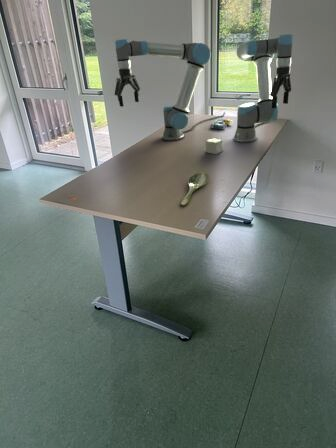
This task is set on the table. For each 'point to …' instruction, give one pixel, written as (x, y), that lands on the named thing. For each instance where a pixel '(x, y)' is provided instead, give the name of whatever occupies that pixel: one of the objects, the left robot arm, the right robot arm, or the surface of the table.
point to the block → (213, 146)
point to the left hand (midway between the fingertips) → (129, 104)
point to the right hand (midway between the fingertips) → (279, 105)
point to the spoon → (195, 184)
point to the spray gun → (221, 123)
